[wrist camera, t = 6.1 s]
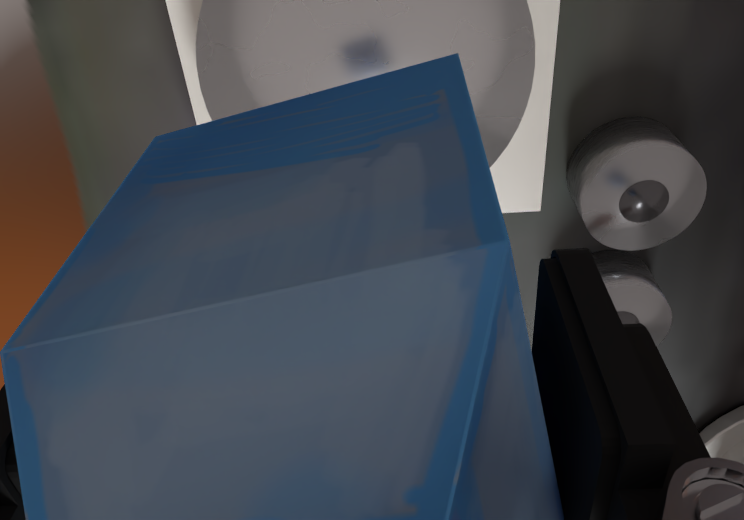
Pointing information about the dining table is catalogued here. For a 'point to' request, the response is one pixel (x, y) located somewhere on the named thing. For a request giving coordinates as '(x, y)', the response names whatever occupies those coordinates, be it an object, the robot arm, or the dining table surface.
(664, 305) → the ring
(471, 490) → the perfume bottle
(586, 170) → the spacer
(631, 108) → the dining table surface
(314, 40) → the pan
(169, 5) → the scale
